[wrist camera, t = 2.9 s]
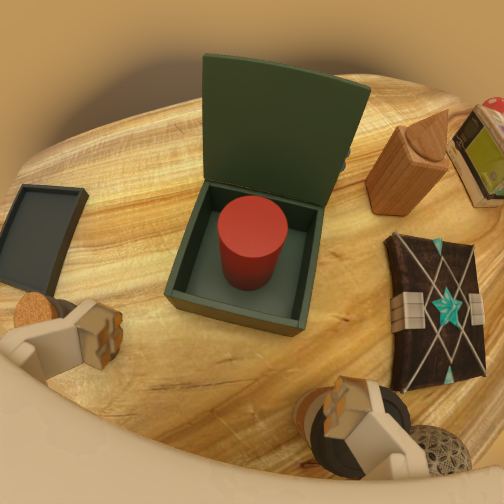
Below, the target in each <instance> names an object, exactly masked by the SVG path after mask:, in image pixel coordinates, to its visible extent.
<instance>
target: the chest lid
mask: <svg viewBox="0 0 504 504" xmlns="http://www.w3.org/2000/svg"><path fill="white" fill-rule="evenodd" d="M202 81H203V82H202V120H203V170H204V179H209V180H214V181H219V182H224V183H229V184H234V185H238V186H243V187H248V188H252V189H257V190H261V191H265V192H270V193H274V194H278V195H282V196H287V197H291V198H295V199H299V200H303V201H307V202H311V203H315V204H319V205H322V206H326V205H327V202H328V200H329V197H330V195H331V193H332V190H333V188H334V186H335V183H336V181H337V178H338V176H339V173H340V171H341V168H342V166H343V164H344V161H345V159H346V156H347V154H348V151H349V148H350V146H351V143H352V141H353V138H354V136H355V133H356V130H357V128H358V125H359V123H360V120H361V117H362V115H363V112H364V109H365V107H366V104H367V101H368V98H369V96H370V93H371V88H370V87H369V86H366V85H363V84H360V83H357V82H353V81H350V80H347V79H343V78H340V77H337V76H333V75H329V74H325V73H322V72H317V71H313V70H310V69H305V68H301V67H296V66H291V65H286V64H281V63H276V62H271V61H264V60H259V59H252V58H245V57H236V56H229V55H219V54H207V53H206V54H204V55H203V76H202Z"/></svg>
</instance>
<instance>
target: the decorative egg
mask: <svg viewBox="0 0 504 504" xmlns="http://www.w3.org/2000/svg"><path fill="white" fill-rule="evenodd" d="M409 436H410V437H411V438H412V439H413V440H414V441H415V442H416V443H417V444H418V445H419V446H420V447H421V448H422V449H423V450H424V451H425V455H426V459H427V463H428V468H429V472H430V477H433V476H440V475H447V474H453V473H459V472H464V471H469V470H472V465H471V458H470V454H469V452H468V450H467V448H466V446H465V445H464V444H463V442H462V441H461V440H460V439H459V438H458V437H456V436H455V435H454V434H452V433H450V432H448V431H446V430H444V429H442V428H439V427H434V426H428V425H416V426H411V428H410V434H409ZM362 478H363V477H362Z"/></svg>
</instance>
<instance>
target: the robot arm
mask: <svg viewBox="0 0 504 504" xmlns="http://www.w3.org/2000/svg"><path fill="white" fill-rule="evenodd" d="M122 321H123V320H122V313H121V312H119V311H117V310H114V309H112V308H110V307H107V306H105V305H103V304H101V303H98V302H96V301H93V300H91V299H85V300H84V301H83V302H82V303H81V304H79V305H78V306H77V307H76V308H75V309H74V310H73V311H72V312H70V313H69V314H68V315H67V316H66V317H65V318H64V319H62V318H57V319H52V320H48V321H44V322H40V323H35V324H31V325H26V326H22V327H18V328H13V329H10V330H9V331H8V332H7V333H6V334H4V335H3V336H2V337H1V338H0V504H504V469H503V468H502V467H500V466H498V465H493V466H487V467H483V468H479V469H474V470H469V471H464V472H459V473H453V474H447V475H440V476H433V477H430V472H429V468H428V463H427V459H426V455H425V451H424V450H423V449H422V448H421V447H420V446H419V445H418V444H417V443H416V442H415V441H414V440H413V439H412V438H411V437H410V436H409V435H408V433H407V432H406V431H405V430H404V429H403V428H402V427H401V426H400V425H399V424H398V423H397V422H396V421H395V420H394V419H393V418H392V416H391V415H390V414H389V413H385V409H384V405H383V401H382V396H381V392H380V388H379V384H378V382H377V381H373V380H366V379H358V378H352V377H346V376H339V377H338V378H337V379H336V381H335V382H334V384H335V388H333V389H331V390H329V392H328V394H327V395H326V398H325V401H324V406H323V414H324V415H325V416H326V417H327V419H326V420H325V421H324V437H329V438H336V439H344V440H345V442H346V444H347V445H348V447H349V449H350V450H351V452H352V453H353V455H354V457H355V458H356V460H357V461H358V463H359V465H360V466H361V468H362V470H363V471H364V473H365V474H366V476H364V477H363V478H362V479H361V480H336V479H321V478H311V477H302V476H293V475H286V474H280V473H273V472H267V471H262V470H257V469H252V468H247V467H242V466H238V465H233V464H229V463H225V462H221V461H218V460H214V459H210V458H207V457H203V456H200V455H196V454H193V453H190V452H187V451H184V450H181V449H178V448H175V447H172V446H169V445H166V444H163V443H161V442H158V441H155V440H153V439H150V438H148V437H145V436H143V435H140V434H138V433H136V432H133V431H131V430H129V429H126V428H124V427H122V426H120V425H117V424H115V423H113V422H111V421H109V420H107V419H105V418H103V417H101V416H99V415H97V414H95V413H93V412H91V411H89V410H87V409H85V408H83V407H82V406H80V405H78V404H76V403H74V402H73V401H71V400H69V399H67V398H66V397H64V396H62V395H61V394H59V393H57V392H56V391H54V390H52V389H51V388H49V387H48V384H47V381H46V380H47V379H49V378H51V377H54V376H56V375H58V374H61V373H63V372H65V371H67V370H70V369H72V368H74V367H76V366H79V365H81V364H83V362H84V363H86V364H88V365H90V366H92V367H94V368H96V369H99V370H101V371H102V370H103V369H104V367H105V366H106V365H107V363H108V362H109V361H110V354H113V353H116V351H117V350H118V349H119V347H120V345H121V342H122V338H123V330H122V328H121V326H120V324H121V322H122Z"/></svg>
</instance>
